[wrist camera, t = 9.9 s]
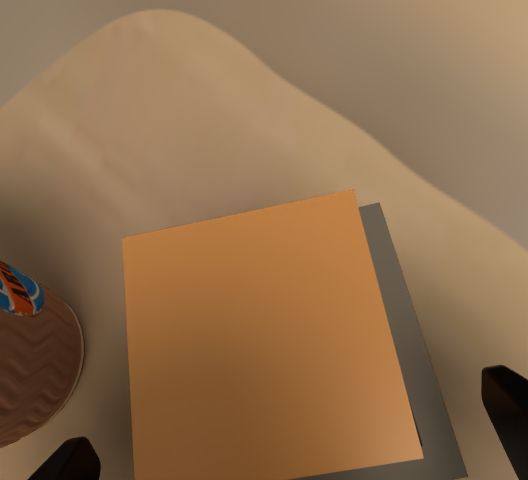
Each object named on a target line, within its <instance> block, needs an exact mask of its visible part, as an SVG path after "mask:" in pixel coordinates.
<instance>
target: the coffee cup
mask: <svg viewBox="0 0 528 480" xmlns="http://www.w3.org/2000/svg"><path fill="white" fill-rule="evenodd" d="M83 357H84V341H83V335H82V330H81V327H80V324H79V322H78V319H77V317H76V315H75V314H74V312H73V311H72V309H71V308H70V307H69V306H68V305H67V304H66V303H65V302H64V301H63V300H62V299H61V298H59V297H58V296H57V295H56V294H55V293H52V292H51V291H50V289H49V288H47V287H45V286H43V285H42V284H40V283H38V282H37V281H35V280H34V279H32V278H31V277H29V276H27V275H25V274H23V273H22V272H20V271H18V270H16V269H14V268H13V267H11V266H9V265H7V264H5V263H3V262H1V261H0V448H2V447H5V446H7V445H9V444H12V443H14V442H17V441H18V440H20V438H22V437H25V436H27V435H28V434H30V433H31V432H33V431H35V430H36V429H38V428H40V427H41V426H43V425H45V424H46V423H47V422H48V421H49V420H51V419H52V418H53V417H54V416H55V415H56V414H57V413H58V412H59V411H60V410H61V408H62V407H63V406H64V404H65V403H66V402H67V401H68V399H69V397H70V395H71V394H72V392H73V390H74V388H75V386H76V384H77V381H78V378H79V375H80V373H81V368H82V363H83Z"/></svg>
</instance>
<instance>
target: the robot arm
mask: <svg viewBox="0 0 528 480" xmlns="http://www.w3.org/2000/svg"><path fill="white" fill-rule="evenodd" d="M481 395H482V401H483V404H484V407H485V409H486V411H487V413H488V415H489V417H490V420H491V422H492V424H493V426H494V428H495V430H496V432H497V435H498V437H499V439H500V441H501V443H502V445H503V447H504V450H505V452H506V454H507V456H508V458H509V460H510V462H511V465H512V467H513V469H514V471H515V473H516V475H517V477H518V479H519V480H528V380H527V379H526V378H524V377H522V376H521V375H519V374H518V373H516V372H514V371H513V370H511V369H509V368H508V367H506V366H503V365H496V366H491V367H485V368H483V370H482V389H481ZM100 470H101V464H100V460H99V457H98V456H97V454H96V452H95V450H94V449H93V447H92V445H91V443H90V442H89V440H88V439H87V438H86V437H78V438H72V439H68V440H67V441H65V442H64V443H63V444H62V445H61V446H60V447H59V448H58V449H57V450H56V451H55V452H54V453H53V454H52V455H51V456H50V457H49V458H48V459H47V460H46V461H45V462H44V463H43V464H42V465H41V466H40V467H39V468H38V469H37V470H36V471H35V472H34V473H33V474H32V476H31V477H30V478H29V479H28V480H99V476H100Z"/></svg>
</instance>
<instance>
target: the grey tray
mask: <svg viewBox="0 0 528 480" xmlns="http://www.w3.org/2000/svg"><path fill="white" fill-rule="evenodd" d="M358 209H359V212H360V216H361V220H362V224H363V228H364V231H365V235H366V239H367V243H368V247H369V251H370V254H371V258H372V262H373V266H374V270H375V273H376V277H377V281H378V285H379V289H380V293H381V296H382V300H383V304H384V308H385V312H386V315H387V319H388V323H389V327H390V331H391V335H392V338H393V342H394V346H395V350H396V354H397V357H398V361H399V365H400V369H401V373H402V376H403V380H404V384H405V388H406V392H407V396H408V399H409V403H410V407H411V411H412V415H413V418H414V422H415V426H416V430H417V434H418V438H419V441H420V445H421V449H422V453H423V457H424V458H423V459H416V460H410V461H403V462H397V463H391V464H384V465H378V466H371V467H365V468H358V469H352V470H346V471H339V472H333V473H326V474H320V475H313V476H307V477H300V478H294V479H288V480H454V479H459V478H464V477H468V474H467V471H466V468H465V465H464V462H463V459H462V456H461V453H460V450H459V447H458V444H457V441H456V437H455V434H454V431H453V428H452V425H451V422H450V419H449V416H448V413H447V410H446V407H445V403H444V400H443V397H442V394H441V391H440V388H439V385H438V382H437V379H436V376H435V373H434V369H433V366H432V363H431V360H430V357H429V354H428V351H427V348H426V345H425V342H424V339H423V335H422V332H421V329H420V326H419V323H418V320H417V317H416V314H415V311H414V308H413V305H412V301H411V298H410V295H409V292H408V289H407V286H406V283H405V280H404V277H403V274H402V271H401V267H400V264H399V261H398V258H397V255H396V252H395V249H394V246H393V243H392V240H391V237H390V234H389V230H388V227H387V224H386V221H385V218H384V215H383V212H382V209H381V206H380V203H375V204H371V205H367V206H363V207H359V208H358Z"/></svg>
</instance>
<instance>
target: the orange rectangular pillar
mask: <svg viewBox="0 0 528 480" xmlns="http://www.w3.org/2000/svg"><path fill="white" fill-rule="evenodd" d="M122 245H123V264H124V283H125V303H126V322H127V341H128V361H129V380H130V399H131V419H132V438H133V458H134V477H135V480H288V479H294V478H300V477H307V476H313V475H320V474H326V473H333V472H339V471H346V470H352V469H358V468H365V467H371V466H378V465H384V464H391V463H397V462H403V461H410V460H416V459H423V458H424V457H423V453H422V449H421V445H420V441H419V438H418V434H417V430H416V426H415V422H414V418H413V415H412V411H411V407H410V403H409V399H408V396H407V392H406V388H405V384H404V380H403V376H402V373H401V369H400V365H399V361H398V357H397V354H396V350H395V346H394V342H393V338H392V335H391V331H390V327H389V323H388V319H387V315H386V312H385V308H384V304H383V300H382V296H381V293H380V289H379V285H378V281H377V277H376V273H375V270H374V266H373V262H372V258H371V254H370V251H369V247H368V243H367V239H366V235H365V231H364V228H363V224H362V220H361V216H360V212H359V209H358V205H357V201H356V197H355V193H354V190H349V191H344V192H339V193H334V194H330V195H325V196H320V197H315V198H311V199H306V200H301V201H296V202H291V203H287V204H282V205H277V206H272V207H268V208H263V209H258V210H253V211H249V212H244V213H239V214H234V215H230V216H225V217H220V218H215V219H210V220H206V221H201V222H196V223H191V224H187V225H182V226H177V227H172V228H168V229H163V230H158V231H153V232H148V233H144V234H139V235H134V236H129V237H125V238H122Z"/></svg>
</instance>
